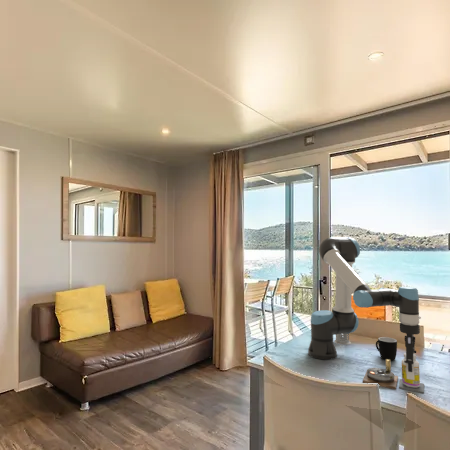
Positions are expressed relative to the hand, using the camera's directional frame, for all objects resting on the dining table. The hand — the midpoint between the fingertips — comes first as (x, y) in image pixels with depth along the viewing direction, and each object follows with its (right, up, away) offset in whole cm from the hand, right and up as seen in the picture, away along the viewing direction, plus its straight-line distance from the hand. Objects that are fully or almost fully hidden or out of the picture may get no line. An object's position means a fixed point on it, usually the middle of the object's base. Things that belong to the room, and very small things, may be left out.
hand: (411, 373), depth 137 cm
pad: (0, -6, 0) cm, 5 cm away
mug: (+6, -8, +34) cm, 35 cm away
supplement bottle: (0, -5, 0) cm, 5 cm away
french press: (-6, -9, +61) cm, 62 cm away
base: (-10, -6, +6) cm, 13 cm away
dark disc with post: (-10, -5, +6) cm, 13 cm away
